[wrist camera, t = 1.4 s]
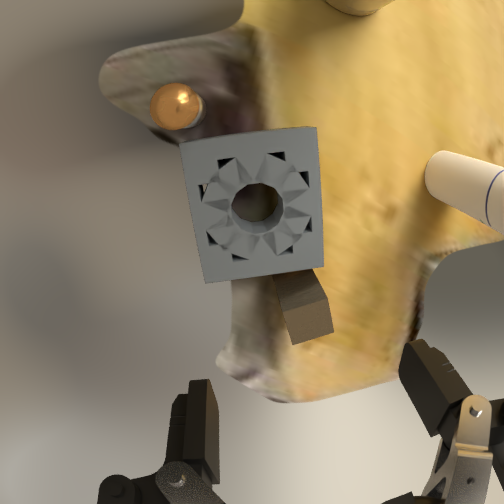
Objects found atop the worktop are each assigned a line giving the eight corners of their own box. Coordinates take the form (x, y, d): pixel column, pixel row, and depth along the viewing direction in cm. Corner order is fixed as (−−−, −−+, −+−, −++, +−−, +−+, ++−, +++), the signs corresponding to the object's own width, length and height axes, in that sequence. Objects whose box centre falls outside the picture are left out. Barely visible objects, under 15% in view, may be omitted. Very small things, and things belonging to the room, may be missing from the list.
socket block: (184, 141, 33) (179, 144, 29) (306, 126, 33) (316, 127, 29) (207, 267, 39) (205, 283, 36) (315, 252, 40) (323, 266, 36)
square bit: (271, 272, 40) (282, 312, 32) (308, 261, 40) (327, 298, 32) (280, 302, 42) (292, 345, 34) (315, 292, 42) (334, 332, 34)
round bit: (169, 97, 30) (147, 88, 21) (204, 90, 31) (195, 78, 21) (174, 130, 32) (153, 134, 23) (208, 124, 32) (201, 125, 23)
